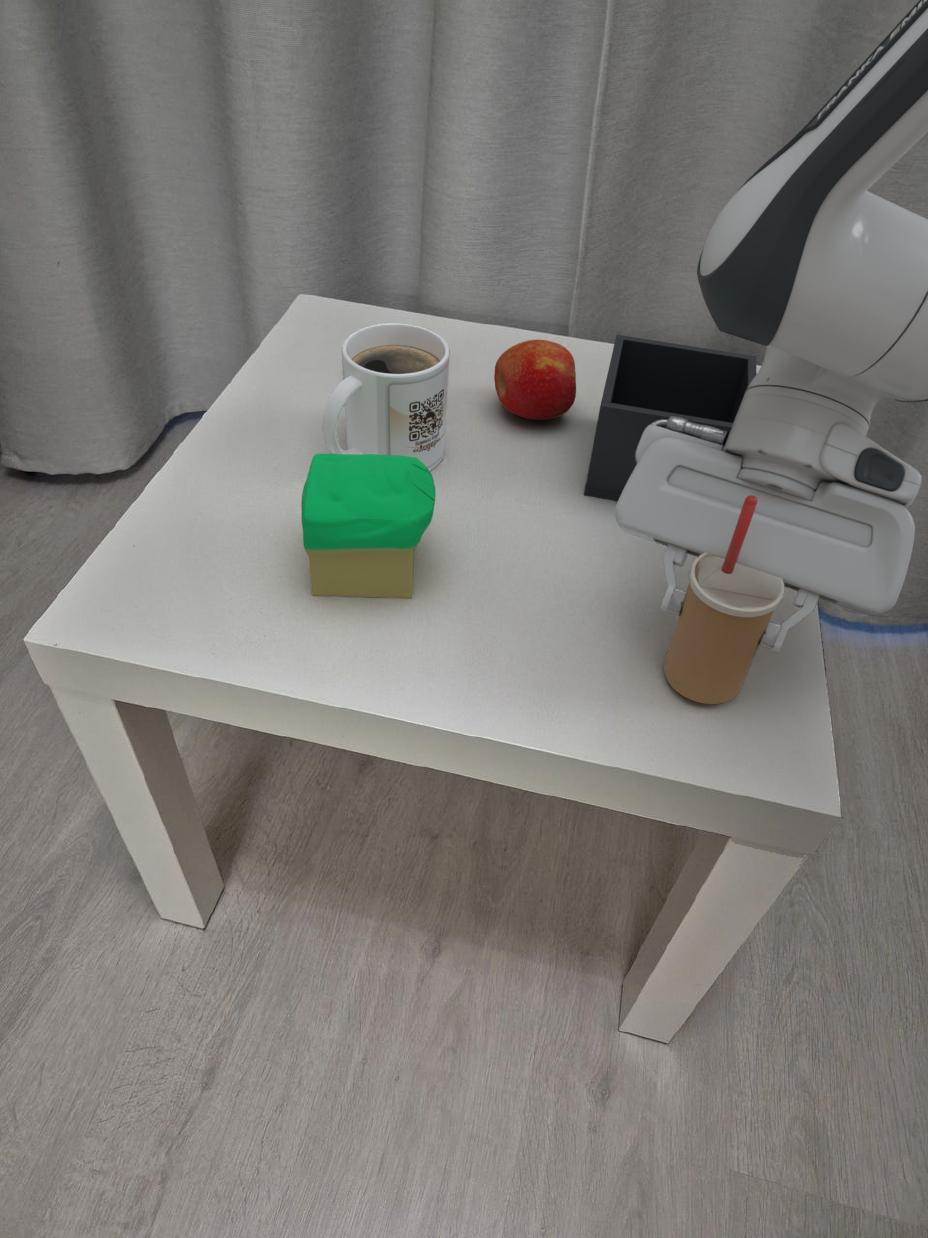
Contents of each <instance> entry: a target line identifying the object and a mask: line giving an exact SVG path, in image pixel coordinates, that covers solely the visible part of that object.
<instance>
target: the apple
mask: <svg viewBox="0 0 928 1238" xmlns="http://www.w3.org/2000/svg"><path fill="white" fill-rule="evenodd" d="M576 372H577V371H576V362H575V358H574V356H573V354H572V353H571V351H569V350H568V348H566V347H565V346H564V345H562V344H561V343H557V342H554V341H551V340H545V339H528V340H525V341H522V342H519V343H517V344H514V345H512V346H511V347H509V348H507V349H506V350H505V351H503V353H502V354H501V355H500V356H499V357H498V359H497V361H496V362H495V366H494V374H493V375H494V376H493V379H494V386H495V387H494V388H495V391H496V394H497V397H498V400H499V402H500V404H501V405H502V406H503V408H504V409H505V410H506V411H507V412H508V413H511V414H512V415H515V416H516V417H519V418H522V419H525V420H534V421H545V420H546V421H547V420H551V419H555V418H558V417H560V416H562V415H564V414H566V413H567V412H568V411H570V409H571V408H572V407H573V405H574V403H575V401H576V397H577V373H576Z"/></svg>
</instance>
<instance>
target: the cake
mask: <svg viewBox="0 0 928 1238" xmlns="http://www.w3.org/2000/svg"><path fill="white" fill-rule="evenodd" d="M301 493H302V495H301V527H302V542H303V543H302V544H303V548H304V550H305V552H306V554H307V557H308V565H309V575H310V585H311V595H312V596H313V597H315V596H316V597H350V598H351V597H352V598H353V597H355V598H356V597H357V598H358V597H359V598H385V599H386V598H391V599H392V598H393V599H413V586H414V585H413V583H414V557H415V556H414V555H415V548H416V547H417V545H418V544H419V543H420V541H421V540H422V537H423V535H424V533H425V532H426V530H427V529H428V528H429V526H430V525H431V523H432V521H433V517H434V511H435V503H436V486H435V480H434V477H433V474H432V473H431V470H430V471H429V470H428V468H427V467H426V466H425V465H424V464H423V463H422V462H421V461H420V460H419V459H417V457H409V456H401V455H378V454H362V455H361V454H333V453H322V452H321V453H320V452H319V453H314V455H313V456H312V459H311V461H310V466H309V470H308V472H307V477H306V480H305V482H304V485H303V488H302V492H301Z"/></svg>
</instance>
